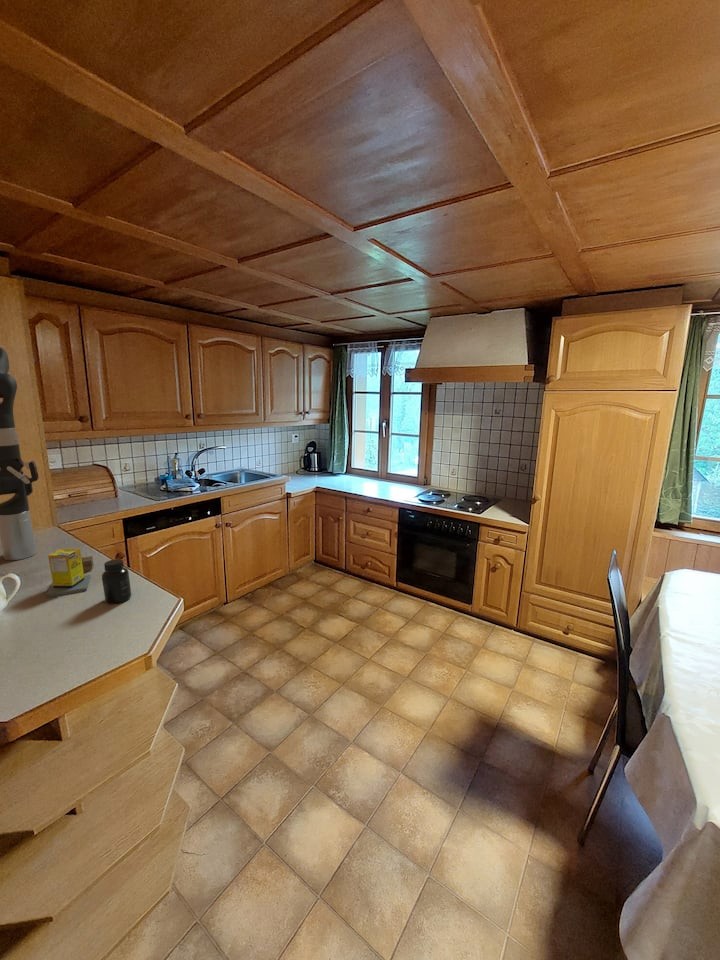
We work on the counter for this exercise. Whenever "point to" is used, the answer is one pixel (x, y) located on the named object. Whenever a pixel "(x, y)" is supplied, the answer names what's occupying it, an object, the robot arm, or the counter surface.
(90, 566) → the walnut block
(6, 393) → the robot arm
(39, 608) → the counter surface
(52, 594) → the pad
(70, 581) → the supplement box
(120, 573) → the supplement bottle
